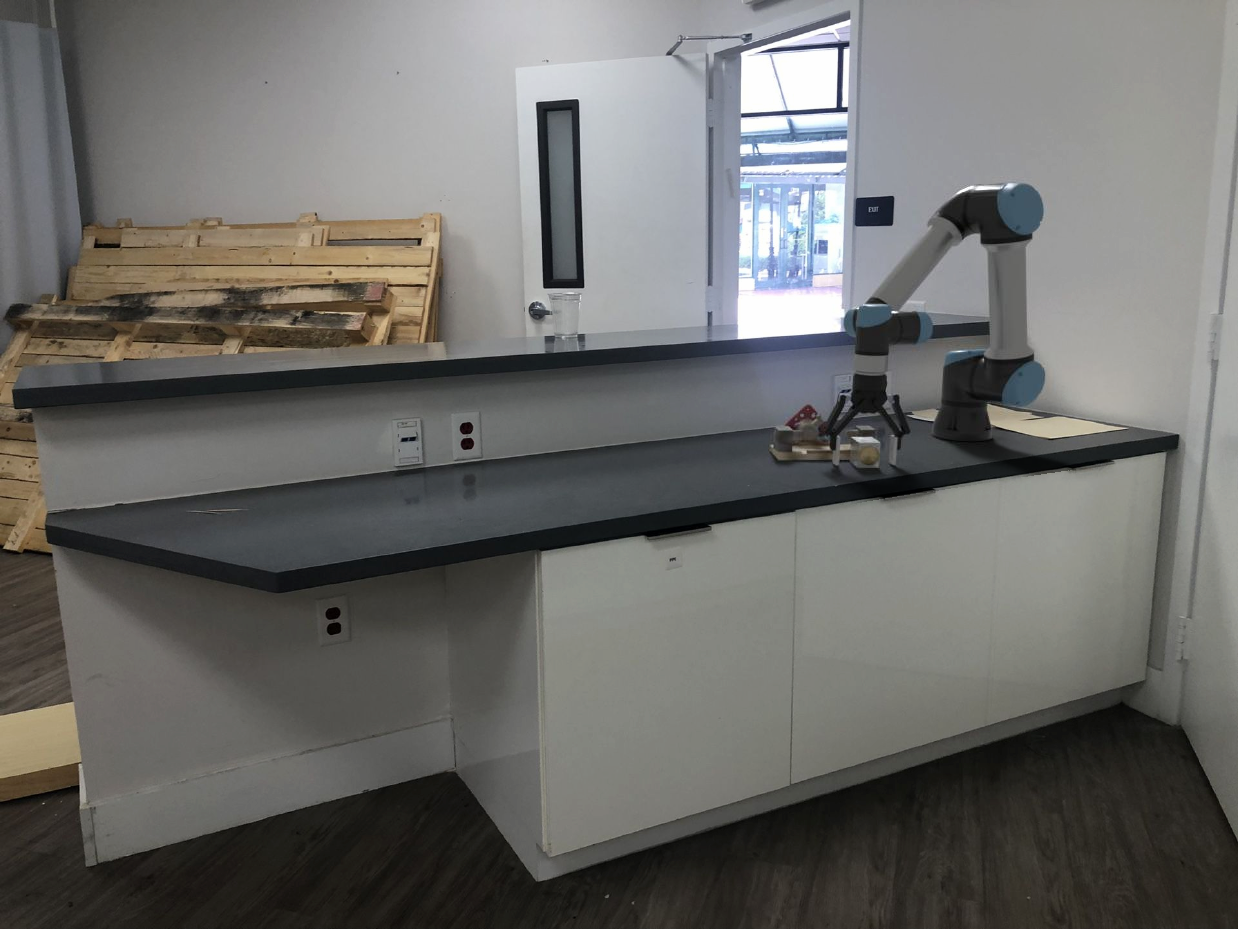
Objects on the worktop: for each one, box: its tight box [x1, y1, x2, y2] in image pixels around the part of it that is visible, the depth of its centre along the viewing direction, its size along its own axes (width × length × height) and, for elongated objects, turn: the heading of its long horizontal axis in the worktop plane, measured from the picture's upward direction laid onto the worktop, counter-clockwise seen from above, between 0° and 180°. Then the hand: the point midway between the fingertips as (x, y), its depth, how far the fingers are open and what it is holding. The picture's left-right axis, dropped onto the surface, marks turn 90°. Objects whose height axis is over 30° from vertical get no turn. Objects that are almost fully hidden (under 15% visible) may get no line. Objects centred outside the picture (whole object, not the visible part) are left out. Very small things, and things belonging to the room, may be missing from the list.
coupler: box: [849, 437, 882, 469], centre depth 225 cm, size 8×5×6 cm, turn 3°
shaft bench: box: [769, 425, 876, 461], centre depth 234 cm, size 24×10×7 cm, turn 93°
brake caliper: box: [784, 403, 830, 445], centre depth 242 cm, size 11×11×12 cm
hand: (863, 463), depth 225 cm, fingers open, 13 cm apart
